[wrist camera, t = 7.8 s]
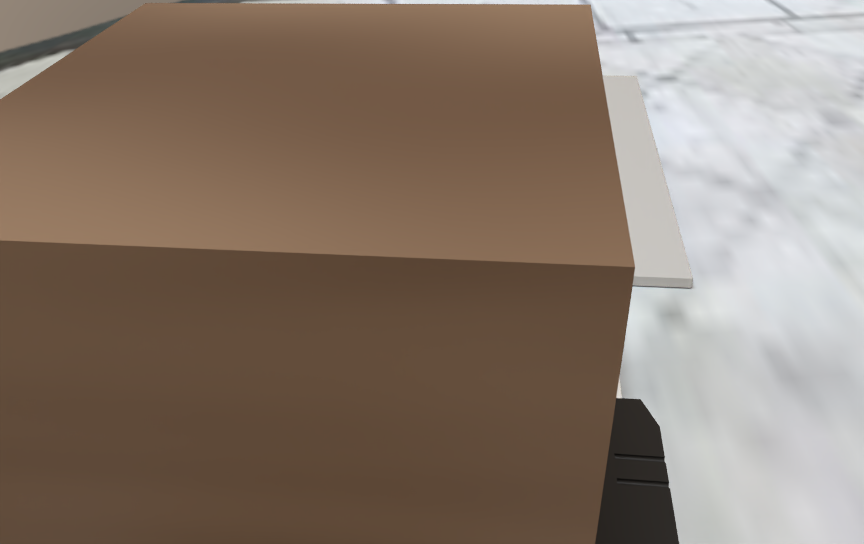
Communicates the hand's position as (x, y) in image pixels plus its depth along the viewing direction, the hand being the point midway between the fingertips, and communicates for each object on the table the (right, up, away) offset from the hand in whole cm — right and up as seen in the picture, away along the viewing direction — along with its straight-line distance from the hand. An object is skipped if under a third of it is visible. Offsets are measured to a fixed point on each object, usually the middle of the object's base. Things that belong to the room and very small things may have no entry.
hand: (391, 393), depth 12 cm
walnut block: (0, -8, +2) cm, 8 cm away
